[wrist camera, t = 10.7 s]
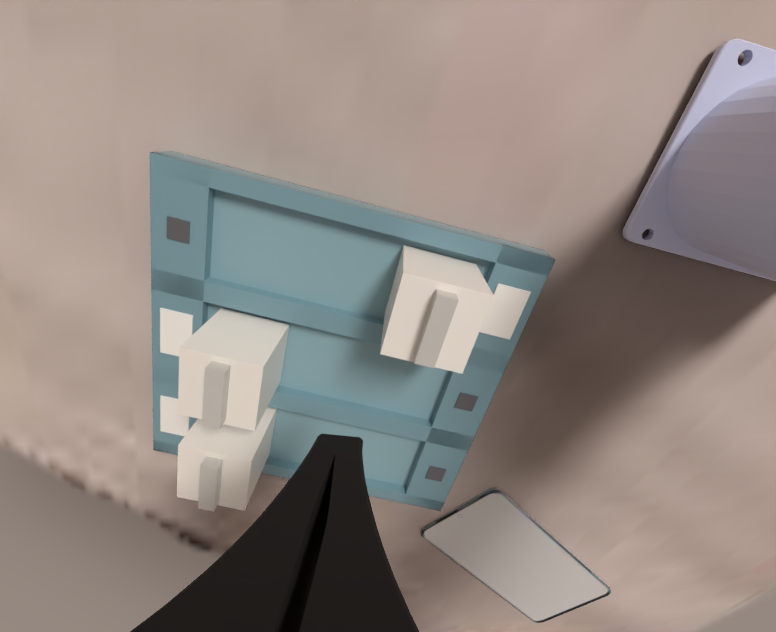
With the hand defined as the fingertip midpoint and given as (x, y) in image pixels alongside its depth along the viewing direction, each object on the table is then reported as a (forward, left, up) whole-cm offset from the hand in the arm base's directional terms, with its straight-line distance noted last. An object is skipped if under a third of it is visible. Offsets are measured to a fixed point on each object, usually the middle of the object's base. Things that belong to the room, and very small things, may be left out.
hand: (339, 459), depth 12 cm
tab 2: (+6, +8, -8) cm, 13 cm away
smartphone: (-15, +16, -10) cm, 25 cm away
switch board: (+2, +2, -10) cm, 10 cm away
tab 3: (-2, -3, -8) cm, 9 cm away
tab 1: (+6, +2, -8) cm, 10 cm away
